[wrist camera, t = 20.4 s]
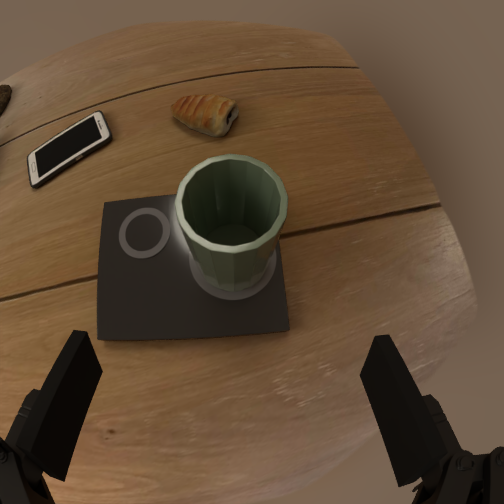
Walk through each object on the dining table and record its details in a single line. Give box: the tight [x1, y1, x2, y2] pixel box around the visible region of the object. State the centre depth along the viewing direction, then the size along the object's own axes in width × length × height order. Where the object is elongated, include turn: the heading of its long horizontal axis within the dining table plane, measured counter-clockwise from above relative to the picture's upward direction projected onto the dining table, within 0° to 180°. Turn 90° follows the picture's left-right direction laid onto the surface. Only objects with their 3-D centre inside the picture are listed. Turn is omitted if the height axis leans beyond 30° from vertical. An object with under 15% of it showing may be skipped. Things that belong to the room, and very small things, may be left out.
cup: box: [175, 154, 288, 292], centre depth 25 cm, size 7×7×12 cm
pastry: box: [171, 94, 239, 137], centre depth 38 cm, size 9×7×4 cm
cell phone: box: [27, 110, 112, 188], centre depth 37 cm, size 8×15×1 cm, turn 122°
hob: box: [97, 194, 290, 341], centre depth 31 cm, size 20×16×2 cm
